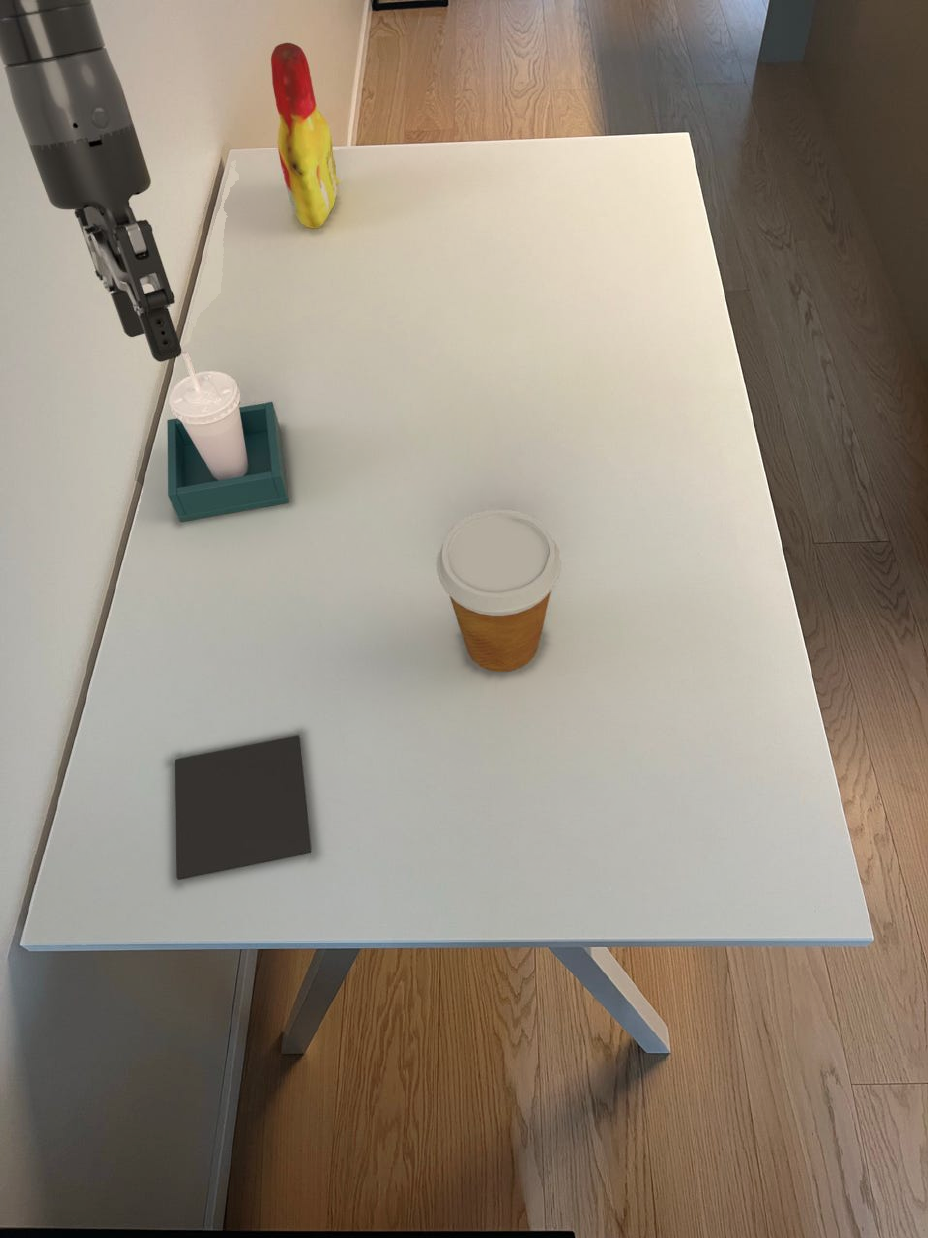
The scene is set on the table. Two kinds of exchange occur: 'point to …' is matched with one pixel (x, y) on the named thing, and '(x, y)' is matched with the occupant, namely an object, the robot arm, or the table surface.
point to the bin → (211, 497)
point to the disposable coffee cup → (499, 585)
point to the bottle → (303, 138)
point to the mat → (240, 807)
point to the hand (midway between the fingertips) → (153, 345)
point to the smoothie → (212, 419)
